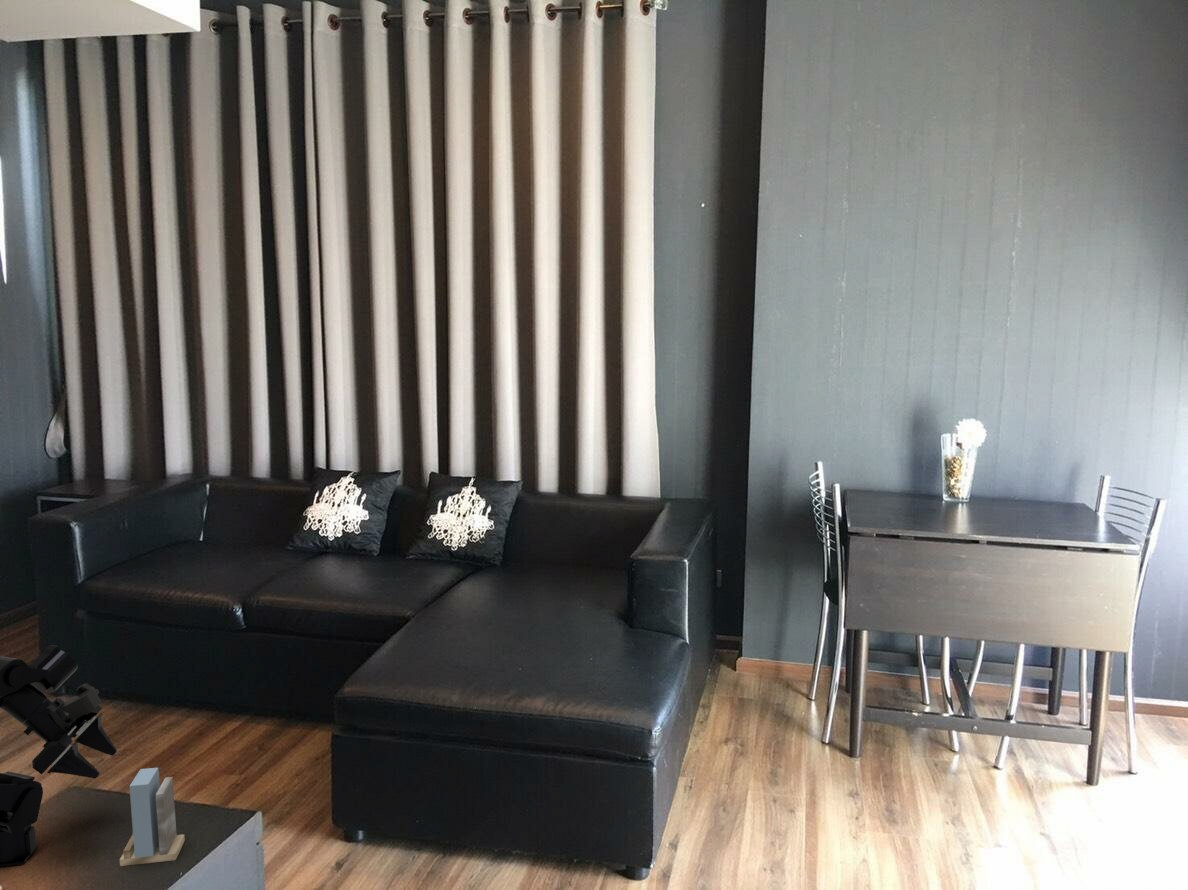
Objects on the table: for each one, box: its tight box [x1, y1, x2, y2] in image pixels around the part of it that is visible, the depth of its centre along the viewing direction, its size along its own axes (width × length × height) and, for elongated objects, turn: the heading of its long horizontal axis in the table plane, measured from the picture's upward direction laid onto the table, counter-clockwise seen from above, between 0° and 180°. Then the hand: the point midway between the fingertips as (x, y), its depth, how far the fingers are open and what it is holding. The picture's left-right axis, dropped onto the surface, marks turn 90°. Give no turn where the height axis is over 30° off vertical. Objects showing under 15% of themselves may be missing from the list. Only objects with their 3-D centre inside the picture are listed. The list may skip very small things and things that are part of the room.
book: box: [129, 767, 161, 858], centre depth 165 cm, size 3×6×13 cm, turn 11°
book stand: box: [119, 776, 186, 867], centre depth 166 cm, size 9×6×12 cm
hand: (106, 764), depth 171 cm, fingers open, 9 cm apart
